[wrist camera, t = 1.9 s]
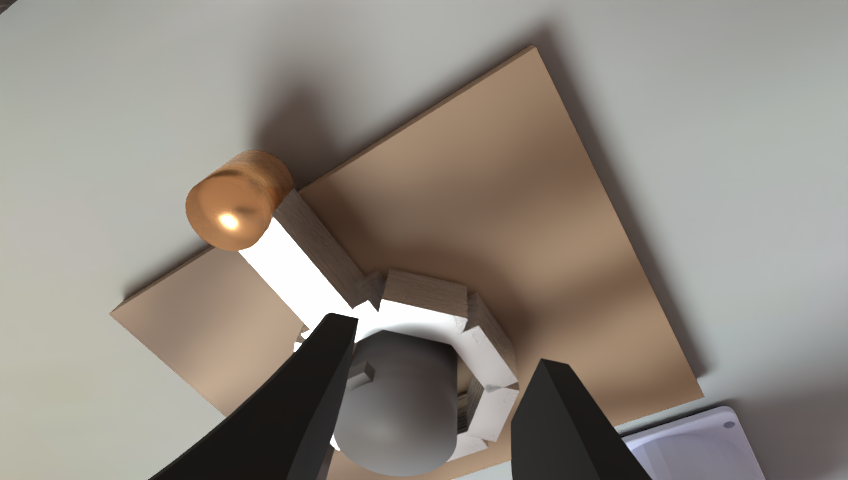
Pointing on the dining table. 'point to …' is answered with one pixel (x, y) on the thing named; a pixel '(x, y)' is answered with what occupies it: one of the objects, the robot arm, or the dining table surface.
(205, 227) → the collar
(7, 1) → the oil lamp
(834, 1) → the dining table surface
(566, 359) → the board
